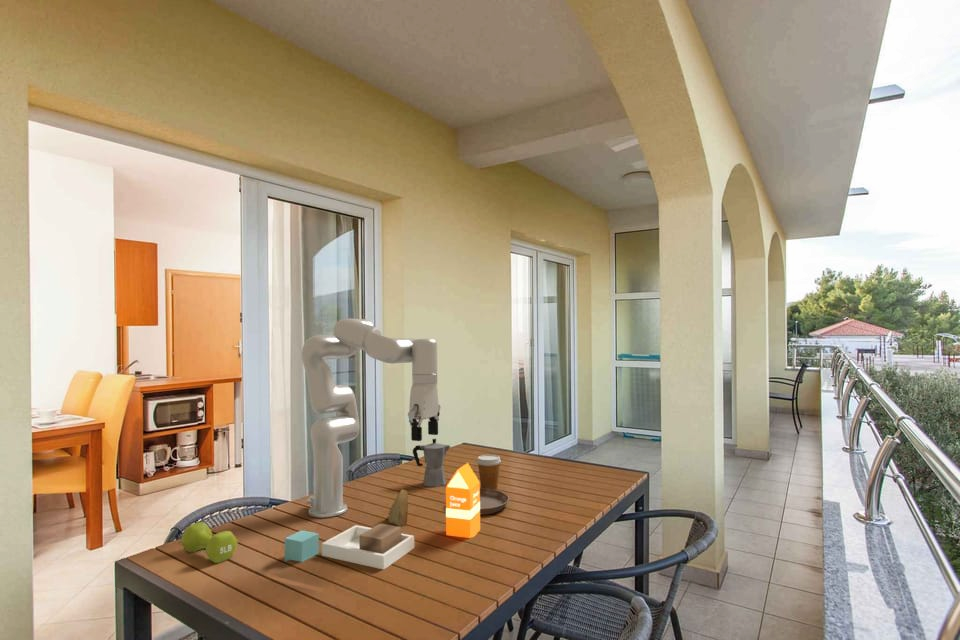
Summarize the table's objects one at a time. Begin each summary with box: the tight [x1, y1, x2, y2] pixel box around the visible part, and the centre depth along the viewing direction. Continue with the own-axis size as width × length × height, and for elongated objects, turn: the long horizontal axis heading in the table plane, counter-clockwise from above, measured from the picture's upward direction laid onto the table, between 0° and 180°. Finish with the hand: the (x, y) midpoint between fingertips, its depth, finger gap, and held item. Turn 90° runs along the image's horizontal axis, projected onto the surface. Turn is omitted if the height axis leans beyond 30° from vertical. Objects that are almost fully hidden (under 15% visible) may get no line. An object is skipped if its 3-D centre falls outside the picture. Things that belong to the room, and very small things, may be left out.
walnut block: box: [360, 523, 402, 554], centre depth 130 cm, size 7×9×6 cm
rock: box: [387, 488, 409, 528], centre depth 154 cm, size 11×9×10 cm
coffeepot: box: [412, 438, 451, 488], centre depth 198 cm, size 15×9×18 cm, turn 103°
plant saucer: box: [480, 488, 510, 516], centre depth 170 cm, size 21×21×3 cm
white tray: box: [321, 524, 415, 571], centre depth 132 cm, size 20×14×4 cm
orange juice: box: [445, 462, 481, 539], centre depth 146 cm, size 8×9×20 cm
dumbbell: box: [179, 521, 238, 564], centre depth 133 cm, size 16×8×7 cm, turn 57°
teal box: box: [284, 529, 320, 563], centre depth 130 cm, size 6×6×6 cm
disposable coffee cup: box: [476, 454, 502, 490], centre depth 190 cm, size 10×10×12 cm
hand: (425, 437), depth 146 cm, fingers open, 9 cm apart
